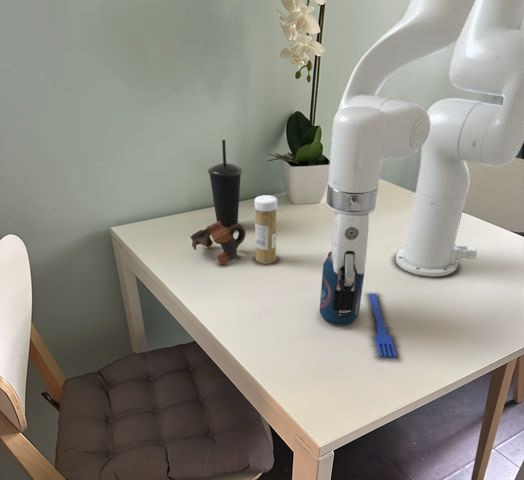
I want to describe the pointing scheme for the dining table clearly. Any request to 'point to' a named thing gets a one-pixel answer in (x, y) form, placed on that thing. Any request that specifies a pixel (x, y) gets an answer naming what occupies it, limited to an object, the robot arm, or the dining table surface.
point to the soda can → (328, 296)
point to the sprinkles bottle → (265, 228)
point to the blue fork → (381, 330)
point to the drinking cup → (225, 190)
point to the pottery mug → (220, 239)
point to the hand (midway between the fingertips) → (340, 296)
